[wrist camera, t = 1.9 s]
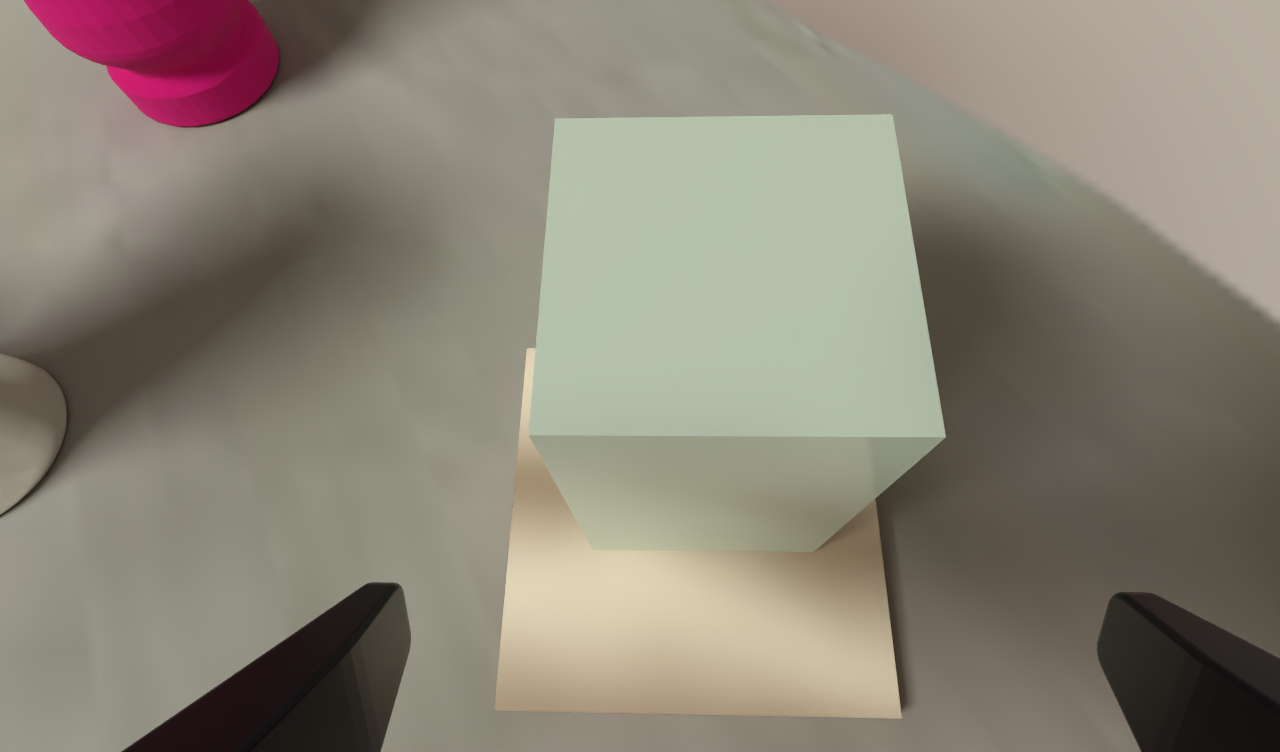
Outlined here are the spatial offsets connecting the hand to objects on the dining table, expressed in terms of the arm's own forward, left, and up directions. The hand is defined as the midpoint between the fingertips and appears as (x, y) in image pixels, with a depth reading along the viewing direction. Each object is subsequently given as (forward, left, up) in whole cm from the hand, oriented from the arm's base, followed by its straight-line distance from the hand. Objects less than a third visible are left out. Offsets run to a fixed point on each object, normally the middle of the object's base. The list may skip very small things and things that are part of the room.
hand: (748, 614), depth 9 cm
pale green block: (+4, +5, -12) cm, 13 cm away
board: (+2, +3, -12) cm, 13 cm away
